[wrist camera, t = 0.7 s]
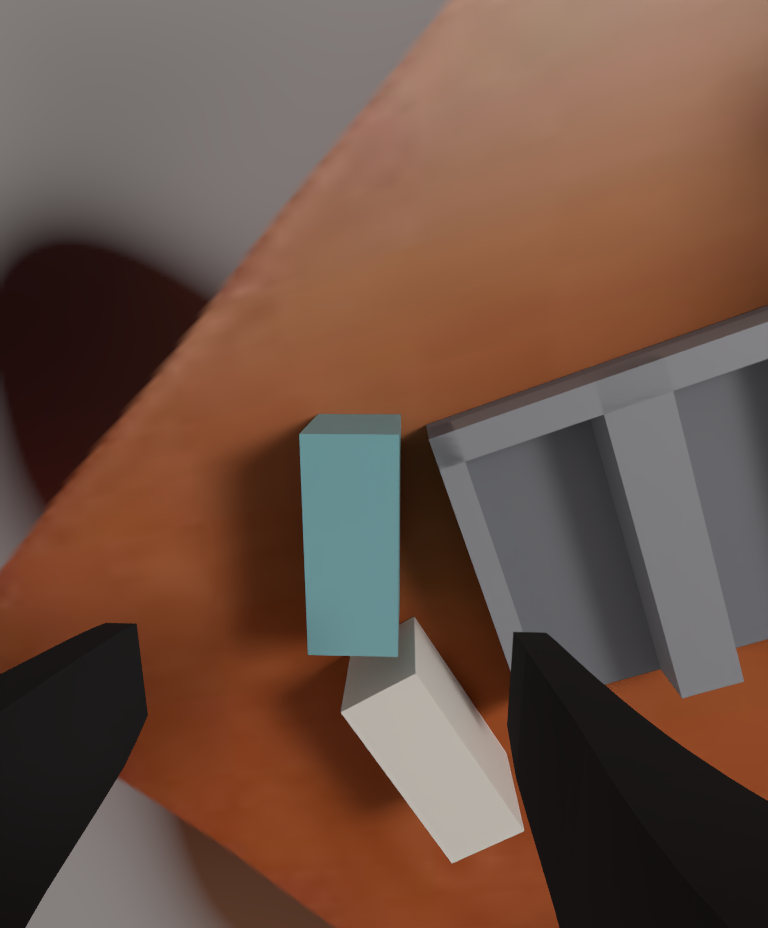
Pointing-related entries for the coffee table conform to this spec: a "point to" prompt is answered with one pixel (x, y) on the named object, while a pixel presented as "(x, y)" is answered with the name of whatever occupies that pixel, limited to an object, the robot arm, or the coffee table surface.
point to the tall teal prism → (351, 533)
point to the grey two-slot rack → (626, 506)
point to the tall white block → (433, 744)
